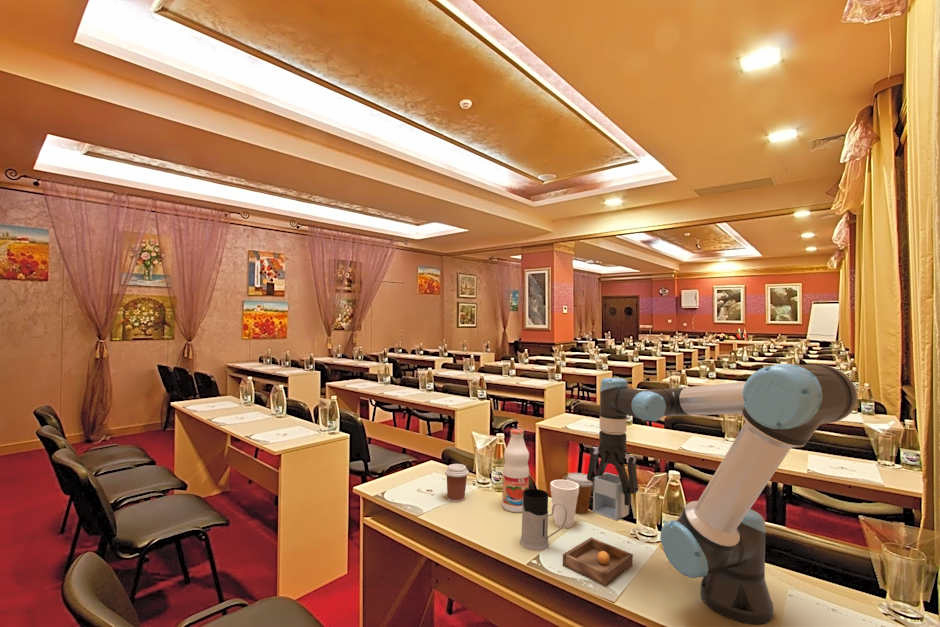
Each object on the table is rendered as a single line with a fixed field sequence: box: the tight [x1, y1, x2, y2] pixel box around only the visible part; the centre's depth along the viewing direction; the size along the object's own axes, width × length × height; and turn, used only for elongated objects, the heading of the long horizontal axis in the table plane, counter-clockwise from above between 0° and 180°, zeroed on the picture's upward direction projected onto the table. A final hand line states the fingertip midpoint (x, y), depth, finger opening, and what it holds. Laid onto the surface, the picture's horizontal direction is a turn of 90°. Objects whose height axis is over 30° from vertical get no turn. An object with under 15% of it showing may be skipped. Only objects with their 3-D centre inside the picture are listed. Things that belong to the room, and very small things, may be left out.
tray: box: [562, 537, 634, 587], centre depth 122 cm, size 13×15×3 cm
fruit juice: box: [501, 428, 530, 513], centre depth 160 cm, size 9×9×28 cm
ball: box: [598, 551, 610, 564], centre depth 122 cm, size 3×3×3 cm
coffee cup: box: [444, 463, 470, 503], centre depth 166 cm, size 9×9×12 cm
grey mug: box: [519, 488, 567, 551], centre depth 132 cm, size 9×14×15 cm, turn 59°
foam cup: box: [549, 479, 579, 529], centre depth 148 cm, size 10×9×13 cm
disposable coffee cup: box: [566, 472, 593, 515], centre depth 159 cm, size 10×10×12 cm
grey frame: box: [592, 472, 630, 522], centre depth 127 cm, size 7×7×10 cm
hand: (611, 510), depth 127 cm, fingers closed on grey frame, 7 cm apart
